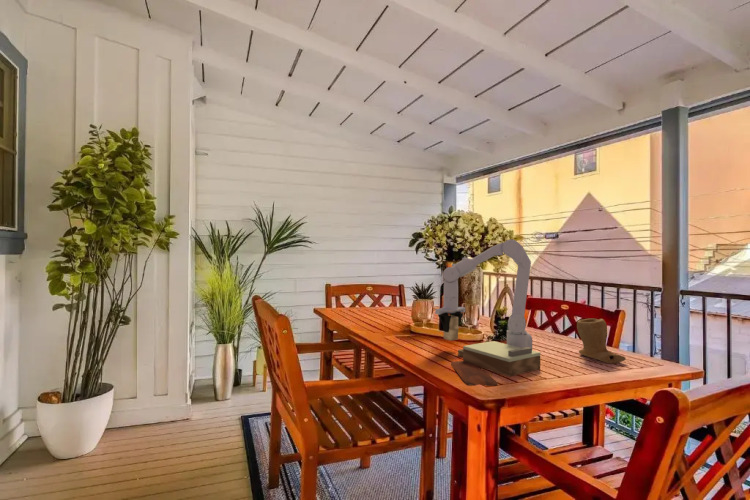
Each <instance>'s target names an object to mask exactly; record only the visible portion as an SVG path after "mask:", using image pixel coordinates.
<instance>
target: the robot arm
mask: <svg viewBox="0 0 750 500" xmlns="http://www.w3.org/2000/svg"><path fill="white" fill-rule="evenodd" d="M503 255H506V256H507V257H508V258H510V259H512V260H513V262H514V263H515V264H516V265H517V272H516V278H515V279H516V280H515V288H514V296H513V302H512V308H511V314H510V316H509V318H508V321H507V328H508V329H507V330H506V344H508V345H512V346H516V347H520V348H526V347H529V348H532V349H533V337H532V335H531V334H530V333H529V332H527V330H526V326H527V325H526V322H527V321H526V318H525V313H526V303H527V296H528V291H529V290H528V288H529V283H530V282H529V280H530V273H531V266H532V261H531V258H530V257H529V256H528V254H527V251H526V250H525V248H524V247H523V245H521V243H519V242H518V241H517V240H515V239H507V240H505V241H504V242H500V243H497V244H496V245H493V246H491V247H489V248H488V249H486V250H484V251H483V252H481V253H479V254H478V255H476V256H474V257H470V256H467V257H464V256H463V257H462V258H461V260H460V261H458V262H457V263H452V264H451V266H448V267H446V268H445V269H444V270H443V272H442V277H443V279H444V280H443V307H441V308H436V309H435V310H434V313H435V315H438V316H437V317H438V318H439V320H440V323H441V325H442V329H443V333H444V332H449V323H450V319H451V316H456V317H458V326H459V324H460V322H461V320H462V318H463V316H464V313H466V307H465V306H459V278H463V277H465V276H466V275H468V274H471V273H472V272H474V271H475V270H476V269H477V266H478V265H479V264H481V263H483V262H485V261H487V260H490V259H491V258H493V257H495V256H503Z"/></svg>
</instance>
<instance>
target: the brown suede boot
mask: <svg viewBox="0 0 750 500" xmlns="http://www.w3.org/2000/svg"><path fill="white" fill-rule="evenodd" d="M576 329H577V332H578V334H579V337H580V339H581V342H582V345H583V346H582V347H583V348H582V349H580V350H578V354H580V355H582V356H585V357H588V358H591V359H593V360H597V361H600V362H603V363H606V364H618V363H622V362H625V361H626V359H627V358H626V357H625V356H623V355H621V354H617V353H614V352H612V351H609V350H608V349H607V340H608V339H607V338H608V326H607V322H606V321H605V319H603V318H599V319H597V318H585V319H579V320H578V321H577V322H576Z"/></svg>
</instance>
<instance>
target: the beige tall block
mask: <svg viewBox="0 0 750 500" xmlns="http://www.w3.org/2000/svg"><path fill="white" fill-rule="evenodd" d="M443 339H444V340H448V341H456V340H459V325H458V317H456V316H451V319H450V323H449V332H444V331H443Z"/></svg>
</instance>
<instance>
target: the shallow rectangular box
mask: <svg viewBox="0 0 750 500" xmlns="http://www.w3.org/2000/svg"><path fill="white" fill-rule="evenodd" d="M457 356H458V357H462V361H464V362H469V363H472V364H475V365H478V366H479V367H480V368H482V369H483V370H488V371H490V372H493V373H497V374H500V375H503V376H507V377H514V376H517V375H521V374H522V375H523V374H526V373H529V372H534V371H537V370H538V371H539V370H541V355H540V356H535V357H531V358H526V359H521V360H517V361H512V362H507V361H504V360H500V359H497V358H494V357H490V356H487V355H483V354H480V353H476V352H473V351H469V350H466V349H463V348H462V349H458V350H457Z"/></svg>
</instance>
